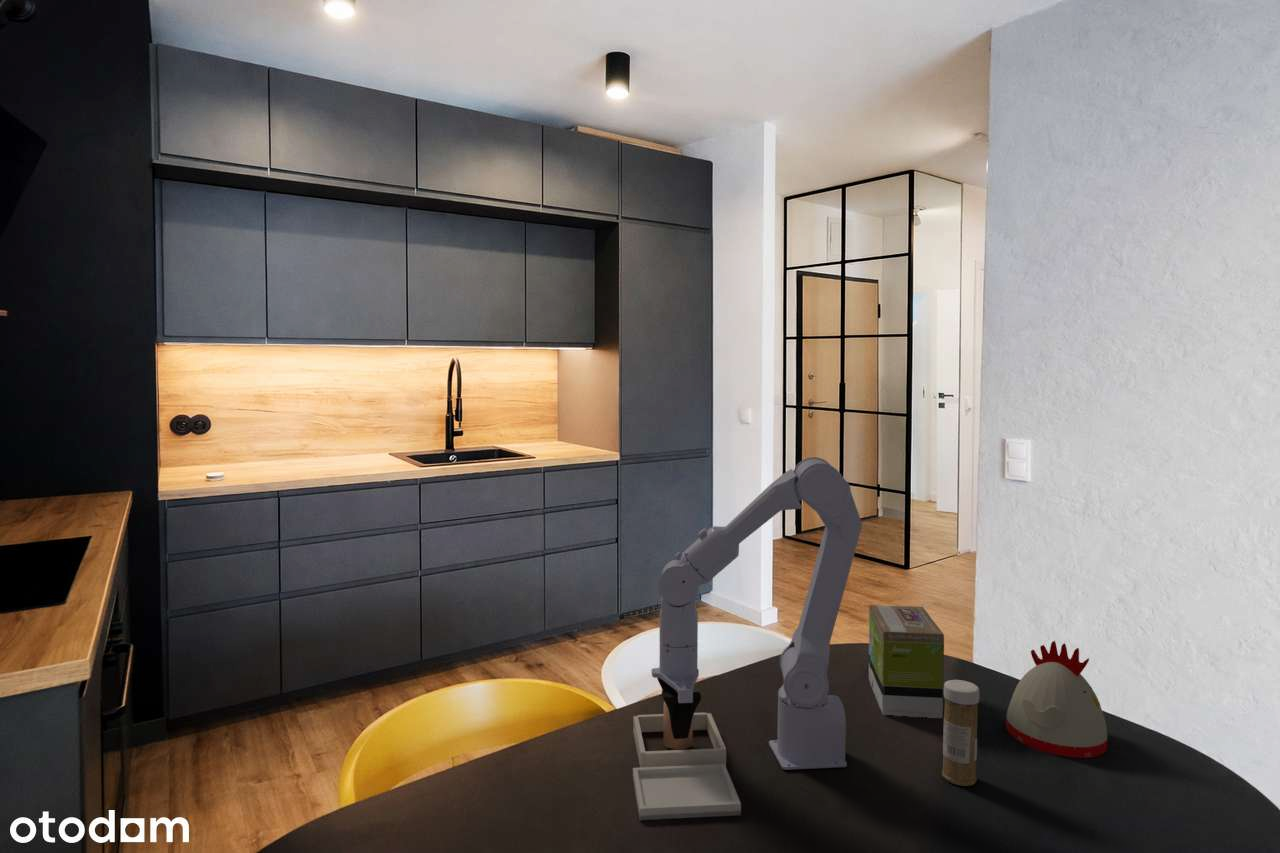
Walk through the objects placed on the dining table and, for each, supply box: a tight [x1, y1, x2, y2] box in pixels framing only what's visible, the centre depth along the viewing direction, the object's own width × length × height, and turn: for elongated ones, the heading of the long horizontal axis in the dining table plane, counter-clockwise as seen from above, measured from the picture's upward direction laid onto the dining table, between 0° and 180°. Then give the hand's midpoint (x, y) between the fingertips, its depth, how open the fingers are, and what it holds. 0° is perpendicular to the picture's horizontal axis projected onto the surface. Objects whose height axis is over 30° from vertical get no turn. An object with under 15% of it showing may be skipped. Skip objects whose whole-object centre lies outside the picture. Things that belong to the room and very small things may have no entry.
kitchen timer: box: [1005, 640, 1108, 759], centre depth 117 cm, size 14×14×15 cm
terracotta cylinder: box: [662, 700, 694, 750], centre depth 112 cm, size 4×4×6 cm
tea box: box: [868, 604, 945, 719], centre depth 130 cm, size 15×10×15 cm
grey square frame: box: [632, 712, 727, 768], centre depth 112 cm, size 12×12×2 cm
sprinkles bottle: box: [941, 679, 980, 787], centre depth 104 cm, size 5×5×14 cm
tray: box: [632, 764, 742, 821], centre depth 99 cm, size 13×10×2 cm
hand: (678, 729), depth 112 cm, fingers closed on terracotta cylinder, 4 cm apart
